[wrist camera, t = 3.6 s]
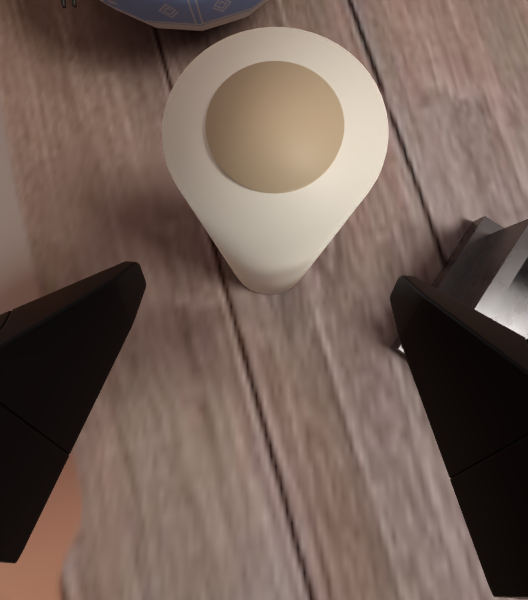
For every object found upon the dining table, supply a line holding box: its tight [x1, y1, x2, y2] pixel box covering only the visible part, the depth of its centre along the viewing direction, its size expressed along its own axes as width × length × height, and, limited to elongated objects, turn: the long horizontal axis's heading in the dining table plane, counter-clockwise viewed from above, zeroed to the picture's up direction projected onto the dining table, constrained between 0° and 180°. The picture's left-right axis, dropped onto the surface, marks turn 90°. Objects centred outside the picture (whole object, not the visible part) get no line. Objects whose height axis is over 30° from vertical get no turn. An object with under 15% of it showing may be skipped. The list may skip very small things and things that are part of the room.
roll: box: [162, 27, 388, 295], centre depth 13 cm, size 6×6×13 cm
